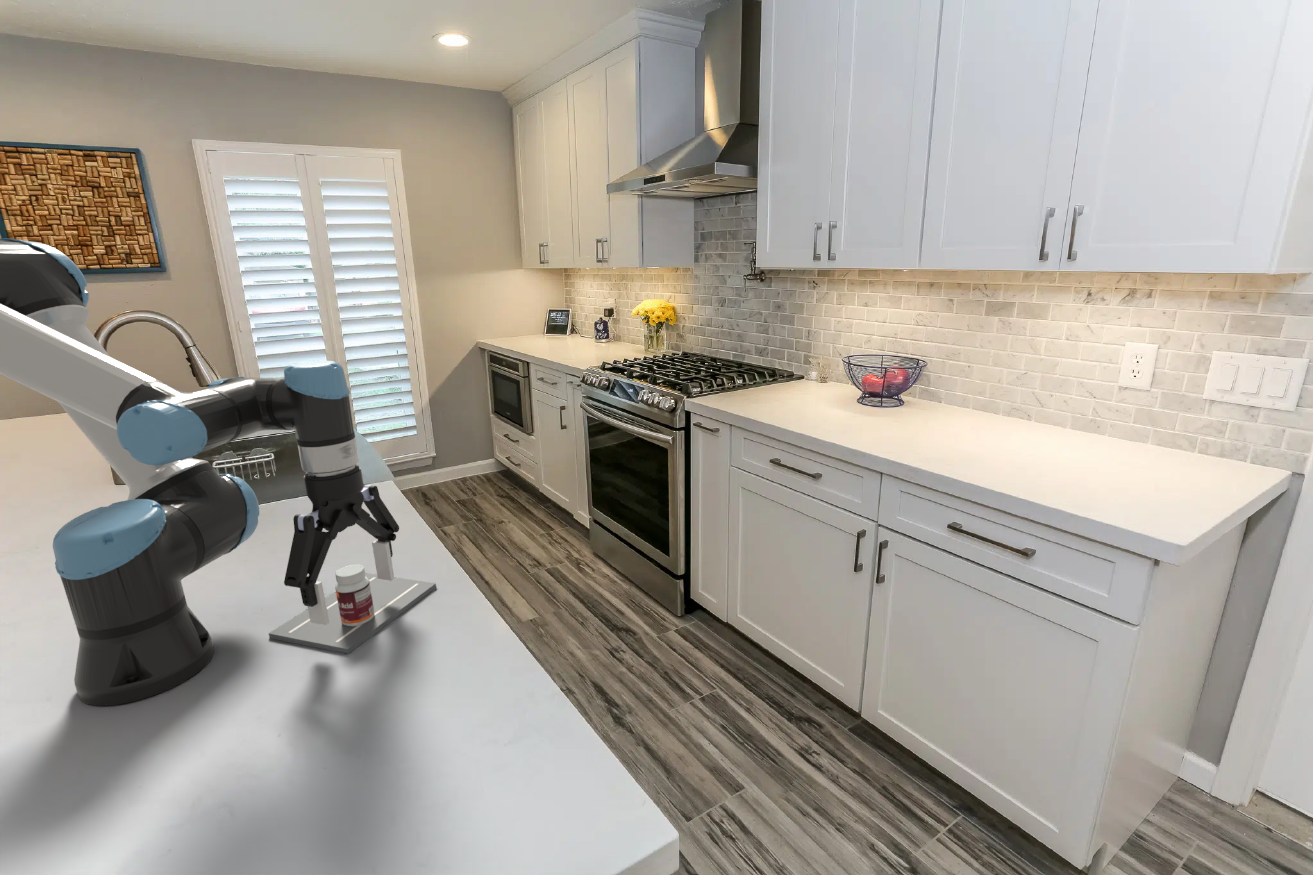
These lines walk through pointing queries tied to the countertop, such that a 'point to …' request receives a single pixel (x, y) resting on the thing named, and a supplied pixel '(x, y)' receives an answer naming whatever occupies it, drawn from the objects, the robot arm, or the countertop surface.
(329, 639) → the slate
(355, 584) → the pill bottle
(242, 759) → the countertop surface
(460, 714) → the countertop surface
